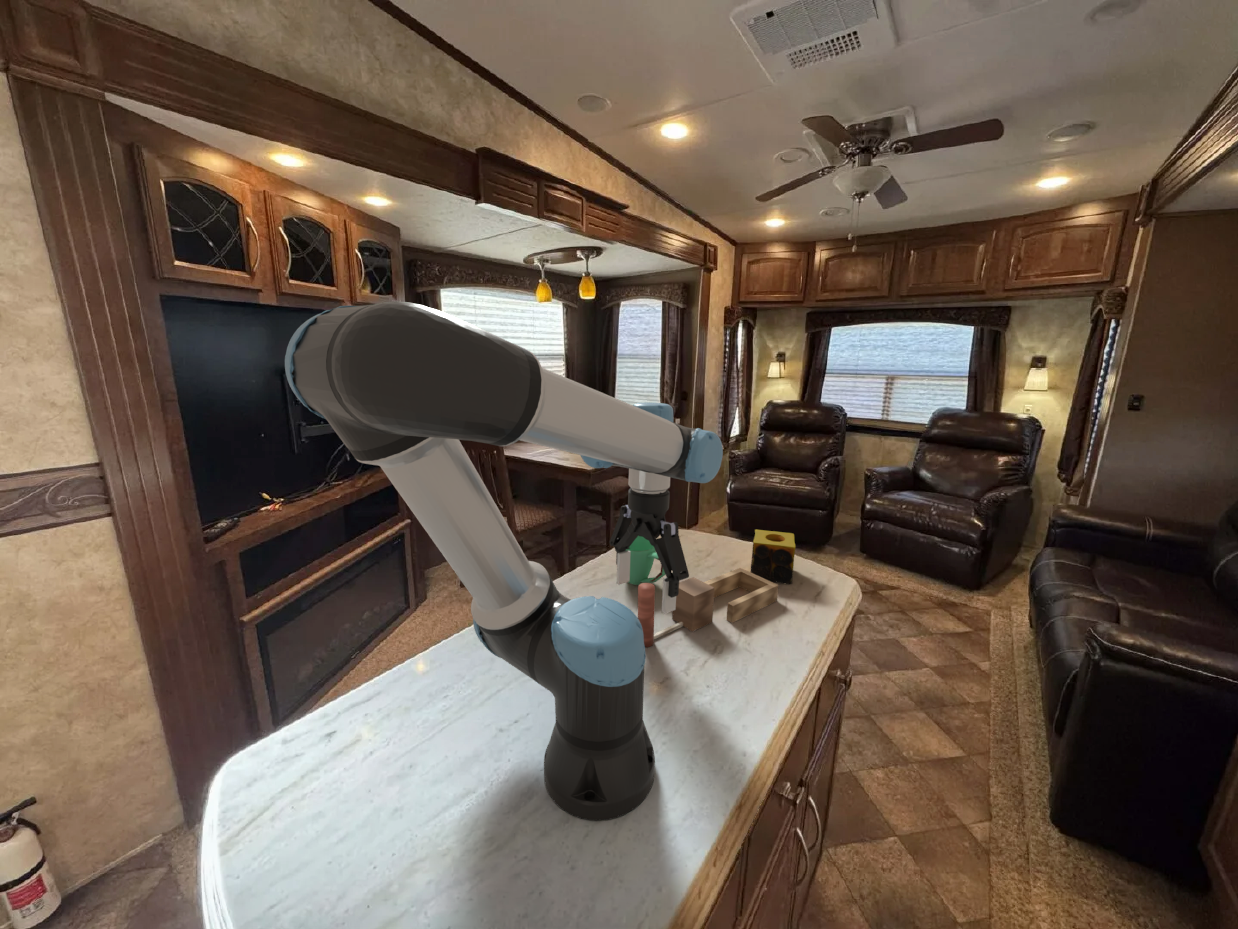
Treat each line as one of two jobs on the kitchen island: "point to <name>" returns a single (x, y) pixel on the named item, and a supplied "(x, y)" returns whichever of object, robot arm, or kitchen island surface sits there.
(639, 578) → the mug
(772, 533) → the toy block
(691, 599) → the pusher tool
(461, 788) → the kitchen island surface
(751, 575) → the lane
